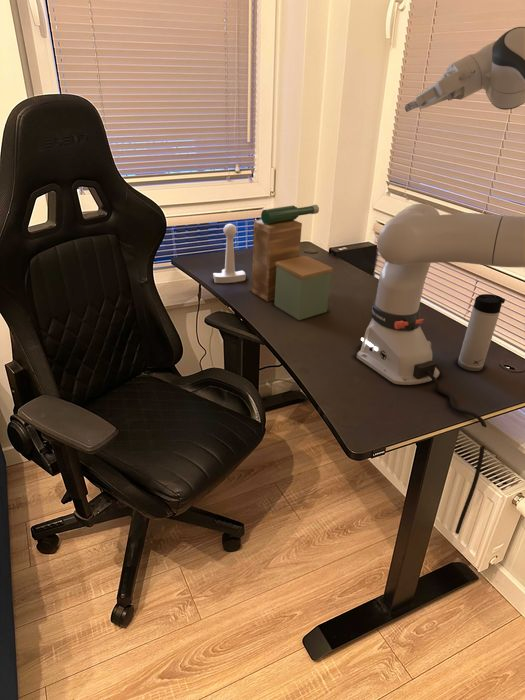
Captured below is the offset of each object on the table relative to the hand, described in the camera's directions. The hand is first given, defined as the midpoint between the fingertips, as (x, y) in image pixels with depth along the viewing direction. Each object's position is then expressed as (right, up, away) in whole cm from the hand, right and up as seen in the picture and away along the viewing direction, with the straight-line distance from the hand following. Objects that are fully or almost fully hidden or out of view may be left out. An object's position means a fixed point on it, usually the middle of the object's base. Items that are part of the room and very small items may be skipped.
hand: (410, 105), depth 130 cm
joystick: (-50, -38, +49) cm, 80 cm away
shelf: (-34, -44, +39) cm, 68 cm away
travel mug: (+17, -67, +4) cm, 69 cm away
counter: (-26, -50, +30) cm, 64 cm away
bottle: (-29, -22, +30) cm, 47 cm away
